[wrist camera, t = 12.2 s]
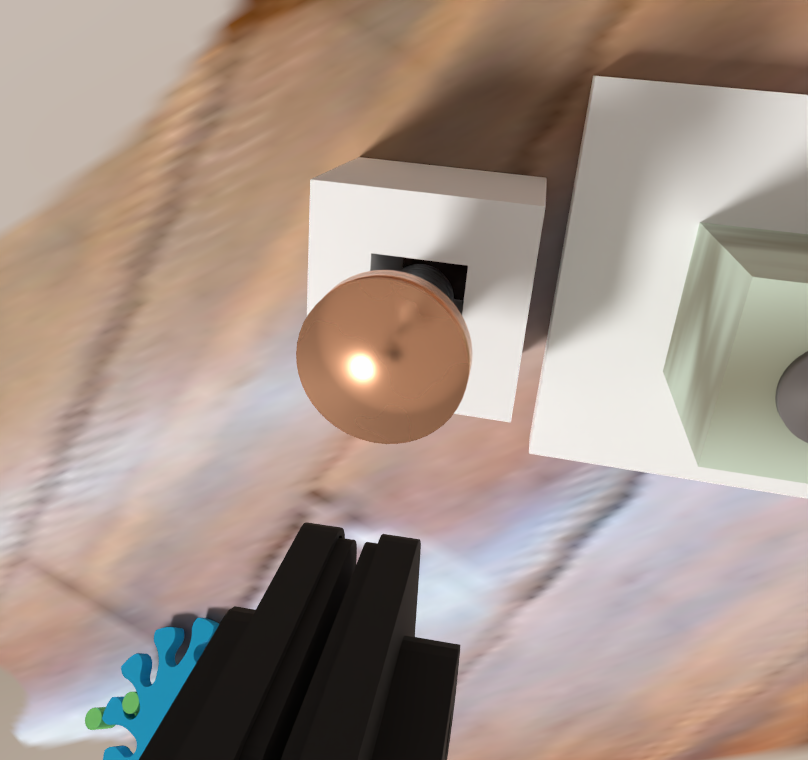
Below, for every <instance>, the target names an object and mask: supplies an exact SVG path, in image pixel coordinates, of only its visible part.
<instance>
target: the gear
mask: <svg viewBox="0 0 808 760" xmlns="http://www.w3.org/2000/svg"><path fill="white" fill-rule="evenodd" d="M218 626H219V623H217V622H215V621H213V620H210V619H207V618H199V617H198V618H197V619H196V620H195V622H194V623H193V626H192V637H191V642H190V645H189V648H188V650H187V652H186V654H185V656H184V657H183V659H182V660H181V661H180V663H179V664H178V665H177V664H176V662H175V654H176V652H177V650H178V649H179V647H180V646H181V645H182V643H183V640H184V630H183V628H175V627H165V628H161V629H158V630H156V632H155V634H154V642H155V645H156V647H157V650H158V656H159V665H158V671H157V676H156V680H155V682H154V683H153V684H151V682H150V674H151V669H152V659H151V657H150V656H149V655H148V654H140V653H137V654H135V655H133V656H131V657H130V658H129V659H128V660H127V661H126V662H125V663H124V664H123V665H122V666H121V670H122V674H123V676H124V677H125V678H126V679H128V680H129V681H130V682H131V683H132V684H133V685H134V687H135V689H136V691H137V692H129V693H127V694H126V695H125V697H112V698H111V699H110V701H109V703H108V704H107V706H106V707H100V708H92V709H90V710H89V711H88V713H87V715H86V718H85V724H86V726H87V728H88V729H90V730H95V729H106V728H112V727H114V726H115V725H121V726H123V727H125V728H127V729H128V730H129V731H130V732H131V733H132V735H133V736H134V737H135V738H136V741H137V748H136V751H135V753H134V754H133V753H132V752H131V751H130V749H129V748H128V747H126V746H115V747H109V748H107V749H106V750H105V752H104V757H103V760H139V758H140V756H141V755H142V753H143V751H144V750H145V748H146V746H147V745H148V743H149V741H150V740H151V738H152V736H153V735H154V733H155V731H156V730H157V728H158V726H159V725H160V723H161V721H162V720H163V718H164V716H165V715H166V713H167V711H168V710H169V708H170V706H171V705H172V703H173V701H174V700H175V698H176V696H177V695H178V693H179V691H180V690H181V688H182V686H183V685H184V683H185V681H186V680H187V678H188V676H189V675H190V673H191V671H192V670H193V668H194V666H195V664H196V663H197V661H198V659H199V658H200V656H201V654H202V653H203V651H204V649H205V648H206V646H207V644H208V643H209V641H210V639H211V638H212V636H213V634H214V633H215V631H216V629H217V628H218Z"/></svg>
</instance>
